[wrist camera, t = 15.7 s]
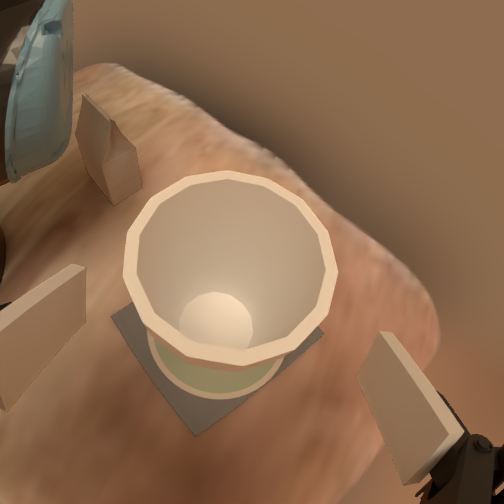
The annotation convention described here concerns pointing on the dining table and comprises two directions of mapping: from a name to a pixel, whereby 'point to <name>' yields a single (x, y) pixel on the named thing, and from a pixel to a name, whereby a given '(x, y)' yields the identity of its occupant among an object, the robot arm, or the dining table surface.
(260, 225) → the foam cup
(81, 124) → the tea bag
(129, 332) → the square coaster
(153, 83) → the dining table surface
